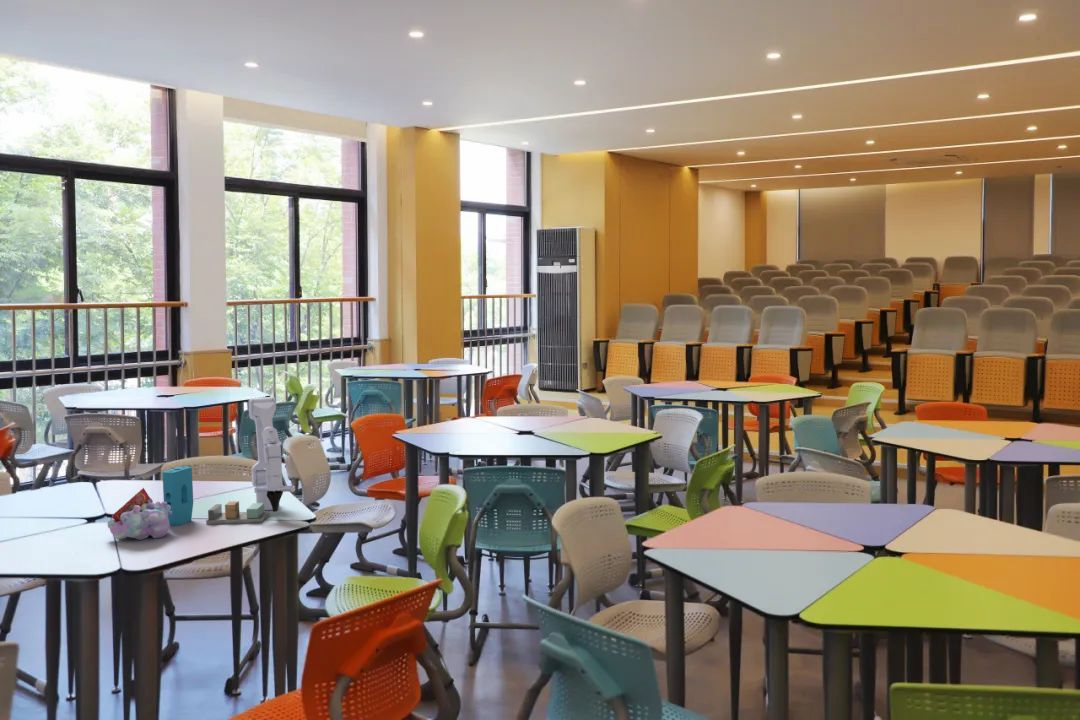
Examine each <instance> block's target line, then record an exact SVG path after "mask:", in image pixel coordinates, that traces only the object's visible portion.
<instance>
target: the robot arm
mask: <svg viewBox="0 0 1080 720" xmlns="http://www.w3.org/2000/svg"><path fill="white" fill-rule="evenodd" d="M247 405H248V416H249V419H250V420H252V421H254V424H255V433H256V447H257V448H256V450H257V462H256V463H255V464H254V465H252V467H251V473H250V474H251V476H250V477H251V485H252V486H253V487H254V493H255V494H256V495H255V497H256V500H255V503H264V511H272V512H274V513H275V512H278V511H279V506H280V501H281V498H282V496H283V494H284V492H285V493H287V492H290V493H291V492H292V493H294V492H295V491H296V487H295V485H283V464H282V459H283V457H284V449H283V447H284V446H283V444H282V441H281V440H279V434H278V433H279V432H278V430H277V428H275V427H274V424H273V423H274V422H273V417H274V415H275V413H276V410H277V401H276V398H275V397H274V396H270V397H269V396H268V397H267V396H266V397H250V398H249V399H248V403H247Z"/></svg>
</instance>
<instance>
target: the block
mask: <svg viewBox="0 0 1080 720" xmlns="http://www.w3.org/2000/svg"><path fill="white" fill-rule="evenodd" d="M193 488H194V486H193V467H192V466H178V467H175V468H172V469H168V470H165V471H162V489H163V490H162V491H163V492H162V493H163V502H167V505H170V506H171V509H170V511H172V514H171V515H168V519H169V524H170V526H176V527H177V526H182V525H184V524H186V523H189V522H191V521H192V516H193V509H194V489H193Z"/></svg>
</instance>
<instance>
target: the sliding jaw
mask: <svg viewBox="0 0 1080 720" xmlns="http://www.w3.org/2000/svg"><path fill="white" fill-rule="evenodd" d="M264 511H265V510H264V503H257V502H255V503H252V504H251V505H249V506H248V507H247V508H246V512H247V518H258V517H259V516H260V515H262V514H263V513H264Z"/></svg>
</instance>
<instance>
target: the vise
mask: <svg viewBox="0 0 1080 720" xmlns="http://www.w3.org/2000/svg"><path fill="white" fill-rule="evenodd" d="M222 509H223V508H222V504H219V503H218V504H214V505H213V506H212V507H211V508H209V509H208V510H207V517H208V518H207V519H206V521H205V524H206V525H223V524H224V525H225V524H226V525H231V524H260V523H263V522H264V521H265V520H266V519H268V517H269V516H270V510H264V513H263V514H262V515H260V516H259V517H258V518H247V511H239V515H238V516H237V517H236V518H225V512H223V510H222Z"/></svg>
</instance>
